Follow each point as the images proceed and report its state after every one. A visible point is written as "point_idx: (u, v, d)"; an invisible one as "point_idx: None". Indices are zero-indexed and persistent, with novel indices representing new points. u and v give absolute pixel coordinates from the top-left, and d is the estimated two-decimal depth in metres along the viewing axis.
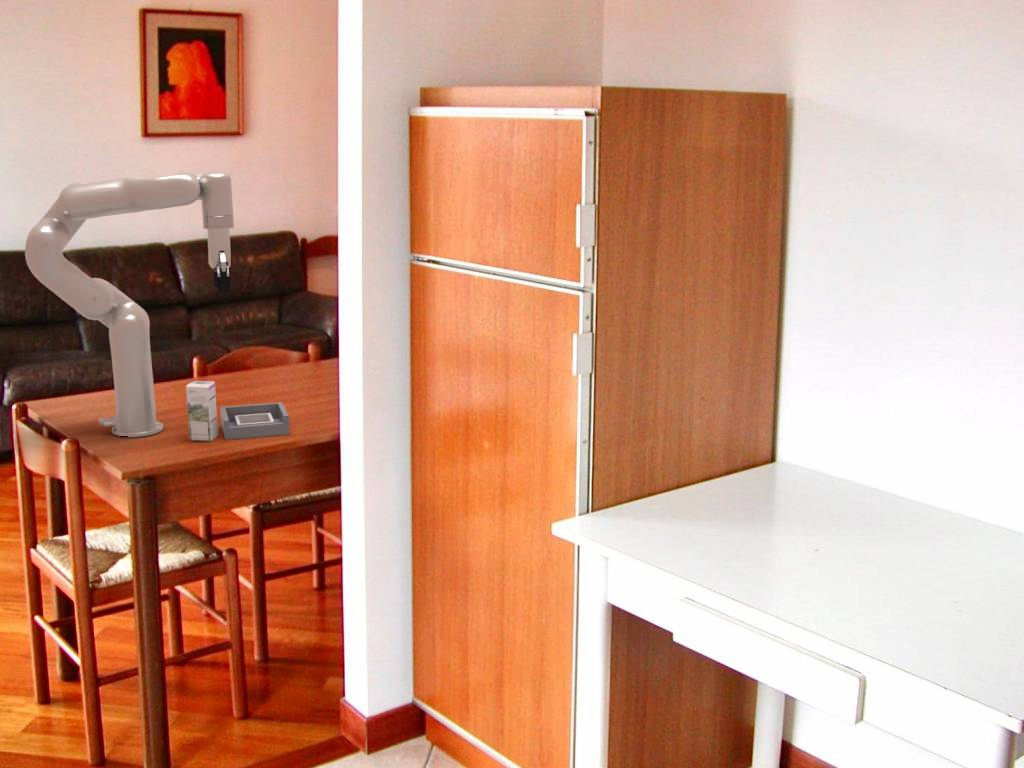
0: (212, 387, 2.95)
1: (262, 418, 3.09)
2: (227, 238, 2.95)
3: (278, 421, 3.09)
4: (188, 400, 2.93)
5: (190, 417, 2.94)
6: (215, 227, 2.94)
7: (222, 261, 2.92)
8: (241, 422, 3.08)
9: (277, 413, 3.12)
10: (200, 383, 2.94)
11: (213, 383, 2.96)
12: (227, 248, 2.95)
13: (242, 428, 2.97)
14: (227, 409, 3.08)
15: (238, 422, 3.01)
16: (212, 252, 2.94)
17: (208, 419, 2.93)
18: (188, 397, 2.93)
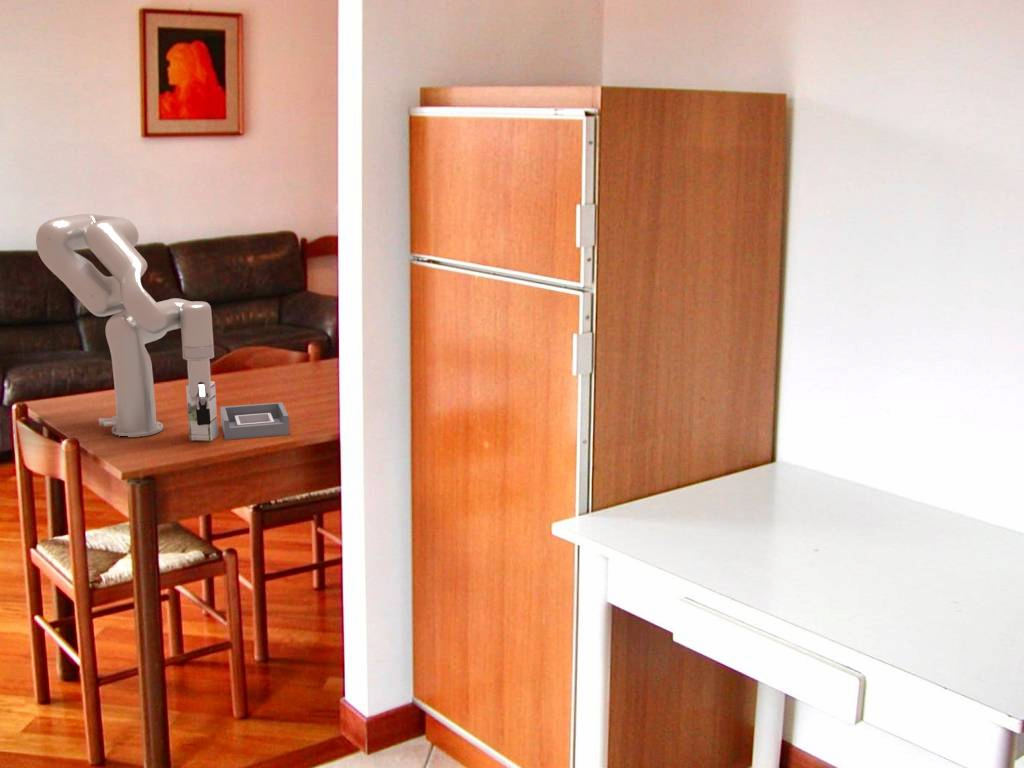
0: (212, 387, 2.95)
1: (262, 418, 3.09)
2: (207, 369, 2.90)
3: (278, 421, 3.09)
4: (188, 400, 2.93)
5: (190, 417, 2.94)
6: (194, 358, 2.89)
7: (201, 397, 2.87)
8: (241, 422, 3.08)
9: (277, 413, 3.12)
10: None
11: (213, 383, 2.96)
12: (207, 379, 2.90)
13: (242, 428, 2.97)
14: (227, 409, 3.08)
15: (238, 422, 3.01)
16: (191, 384, 2.89)
17: None
18: (188, 397, 2.93)
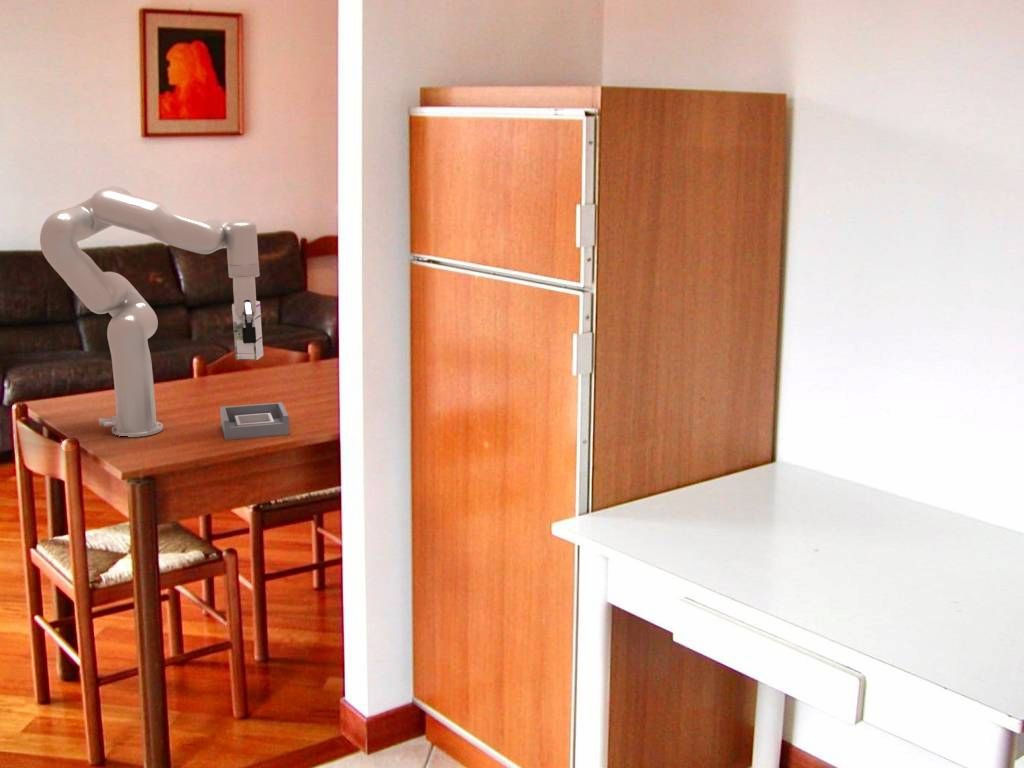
0: (257, 306, 2.97)
1: (262, 418, 3.09)
2: (252, 287, 2.92)
3: (278, 421, 3.09)
4: (234, 319, 2.95)
5: (236, 335, 2.96)
6: (240, 276, 2.92)
7: (247, 314, 2.90)
8: (241, 422, 3.08)
9: (277, 413, 3.12)
10: None
11: (258, 302, 2.98)
12: (253, 297, 2.92)
13: (242, 428, 2.97)
14: (227, 409, 3.08)
15: (238, 422, 3.01)
16: (237, 301, 2.92)
17: None
18: (234, 316, 2.95)
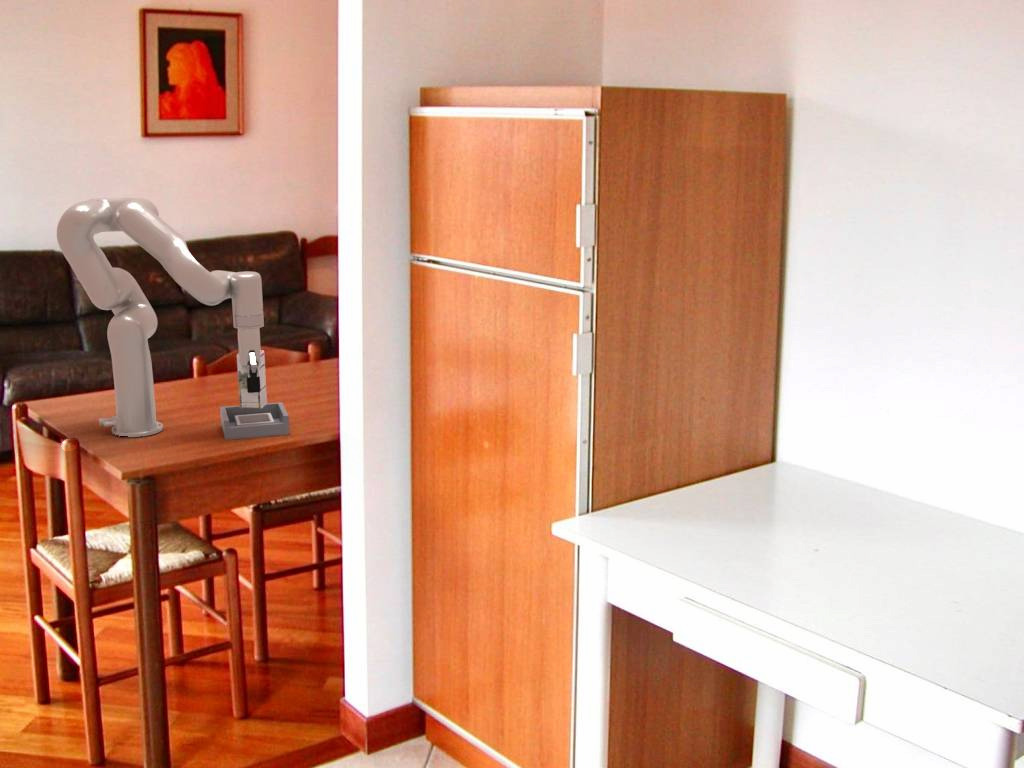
0: (262, 356, 3.01)
1: (262, 418, 3.09)
2: (257, 338, 2.96)
3: (278, 421, 3.09)
4: (238, 368, 2.99)
5: (240, 384, 3.00)
6: (245, 327, 2.95)
7: (252, 365, 2.93)
8: (241, 422, 3.08)
9: (277, 413, 3.12)
10: None
11: (263, 352, 3.02)
12: (257, 347, 2.96)
13: (242, 428, 2.97)
14: (227, 409, 3.08)
15: (238, 422, 3.01)
16: (242, 352, 2.95)
17: None
18: (239, 365, 2.98)
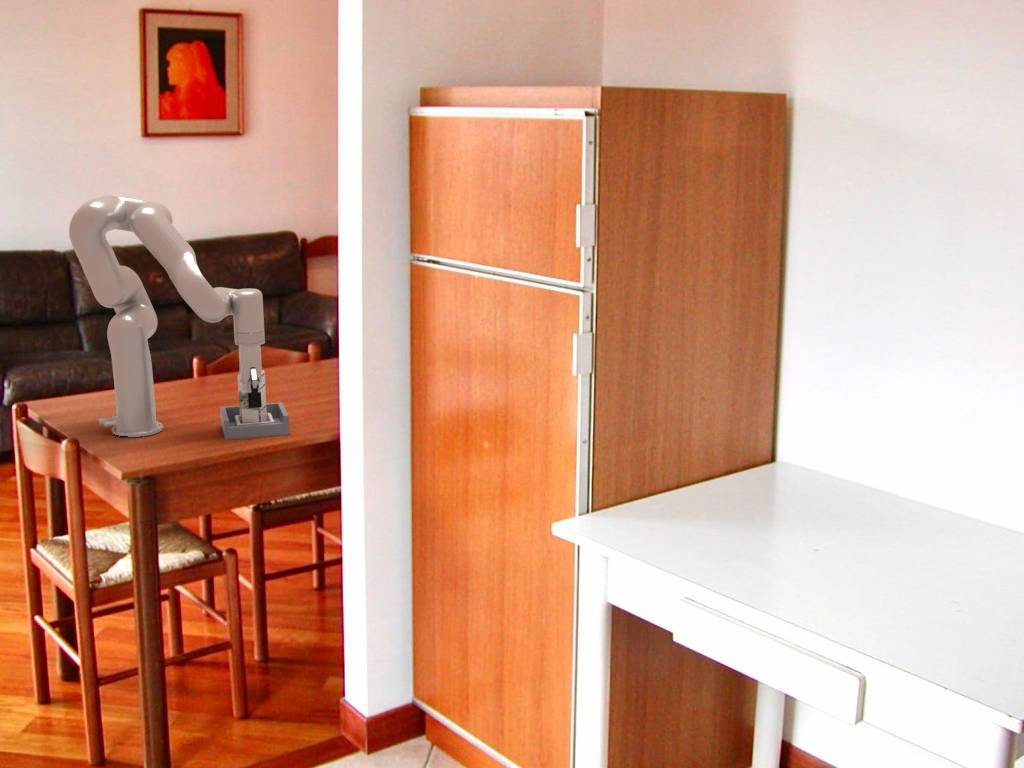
0: (262, 376, 3.02)
1: None
2: (258, 354, 2.97)
3: (278, 421, 3.09)
4: (239, 389, 3.00)
5: (241, 405, 3.01)
6: (246, 344, 2.96)
7: (253, 379, 2.94)
8: None
9: (277, 413, 3.12)
10: None
11: (263, 372, 3.03)
12: (258, 364, 2.97)
13: (242, 428, 2.97)
14: (227, 409, 3.08)
15: (238, 422, 3.01)
16: (243, 369, 2.96)
17: None
18: (239, 386, 3.00)
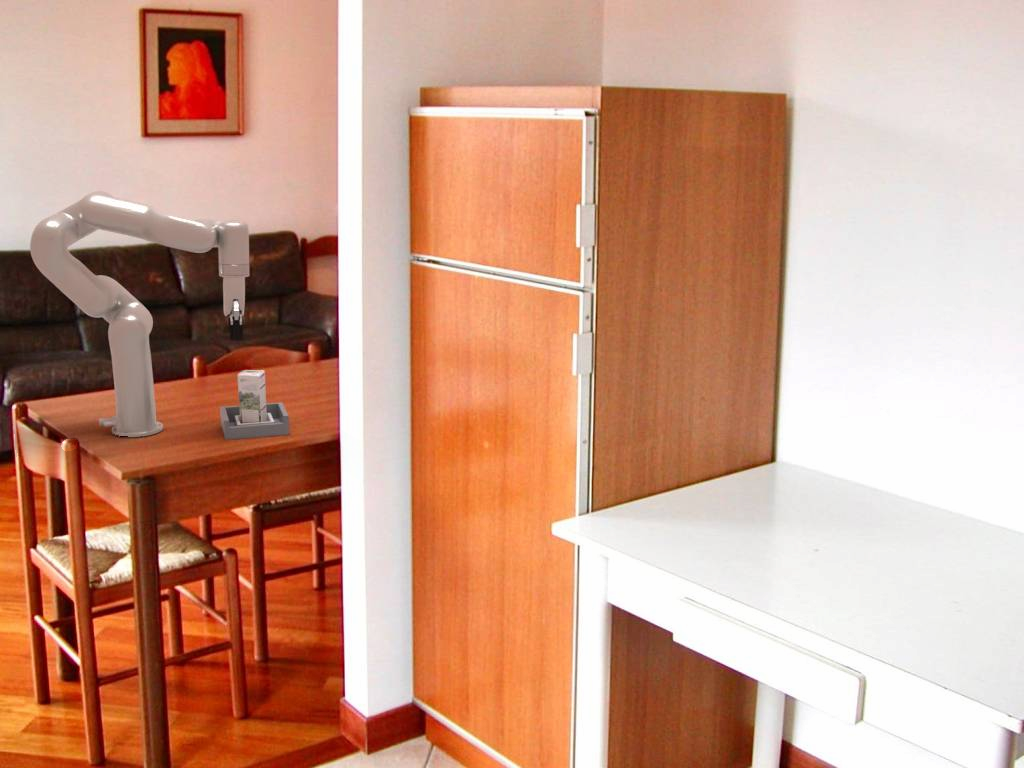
0: (262, 376, 3.02)
1: None
2: (241, 287, 2.96)
3: (278, 421, 3.09)
4: (239, 389, 3.00)
5: (241, 405, 3.01)
6: (230, 275, 2.95)
7: (235, 310, 2.93)
8: None
9: (277, 413, 3.12)
10: (251, 372, 3.01)
11: (263, 372, 3.03)
12: (241, 297, 2.96)
13: (242, 428, 2.97)
14: (227, 409, 3.08)
15: (238, 422, 3.01)
16: (226, 300, 2.95)
17: (259, 407, 3.01)
18: (239, 386, 3.00)
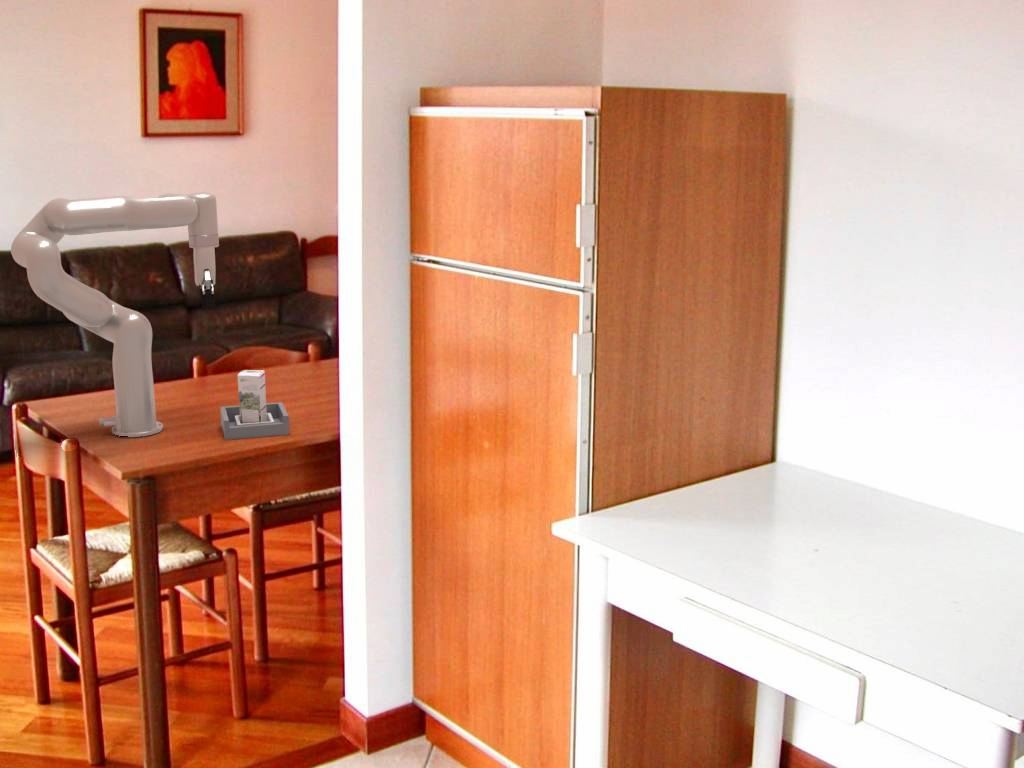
0: (262, 376, 3.02)
1: None
2: (212, 257, 3.03)
3: (278, 421, 3.09)
4: (239, 389, 3.00)
5: (241, 405, 3.01)
6: (200, 246, 3.03)
7: (206, 279, 3.00)
8: None
9: (277, 413, 3.12)
10: (251, 372, 3.01)
11: (263, 372, 3.03)
12: (212, 266, 3.03)
13: (242, 428, 2.97)
14: (227, 409, 3.08)
15: (238, 422, 3.01)
16: (197, 270, 3.03)
17: (259, 407, 3.01)
18: (239, 386, 3.00)
